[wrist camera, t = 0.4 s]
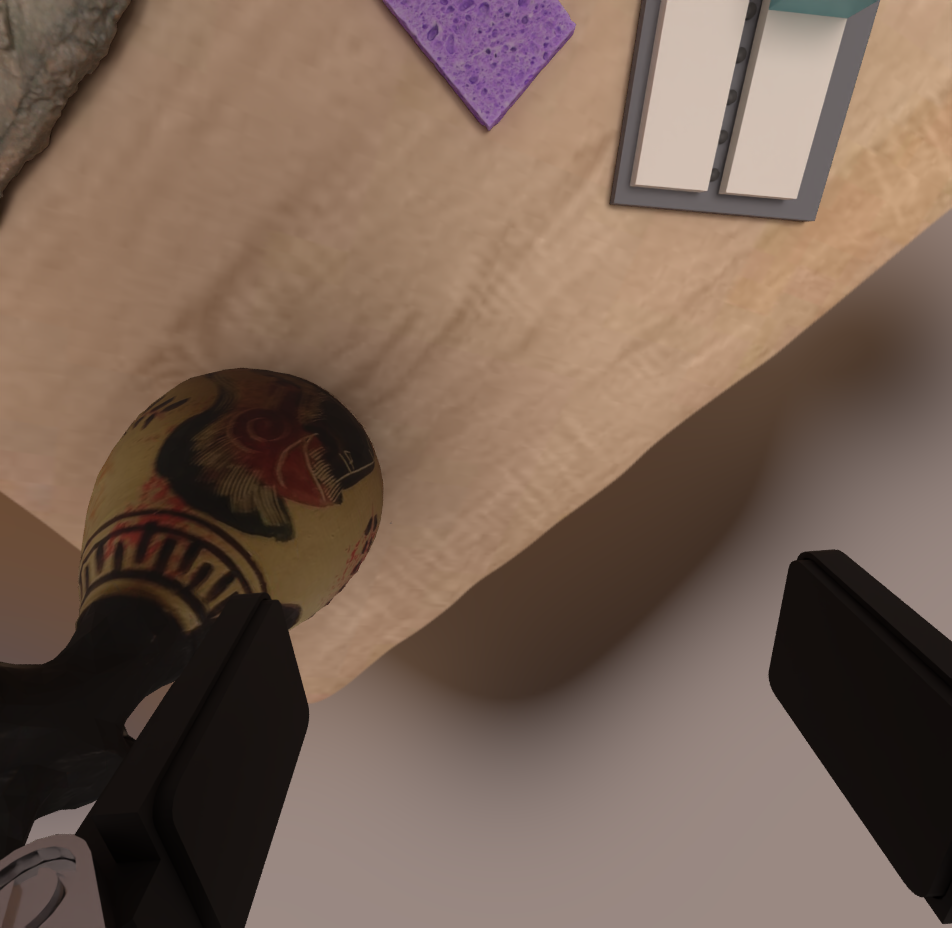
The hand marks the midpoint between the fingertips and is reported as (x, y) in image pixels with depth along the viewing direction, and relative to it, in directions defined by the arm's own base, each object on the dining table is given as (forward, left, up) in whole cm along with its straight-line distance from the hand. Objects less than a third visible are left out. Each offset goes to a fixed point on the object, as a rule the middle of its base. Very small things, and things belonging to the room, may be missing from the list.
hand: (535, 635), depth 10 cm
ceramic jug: (+10, -13, -30) cm, 34 cm away
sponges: (-19, -3, -30) cm, 36 cm away
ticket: (-16, +11, -29) cm, 35 cm away
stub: (-17, +16, -28) cm, 37 cm away
